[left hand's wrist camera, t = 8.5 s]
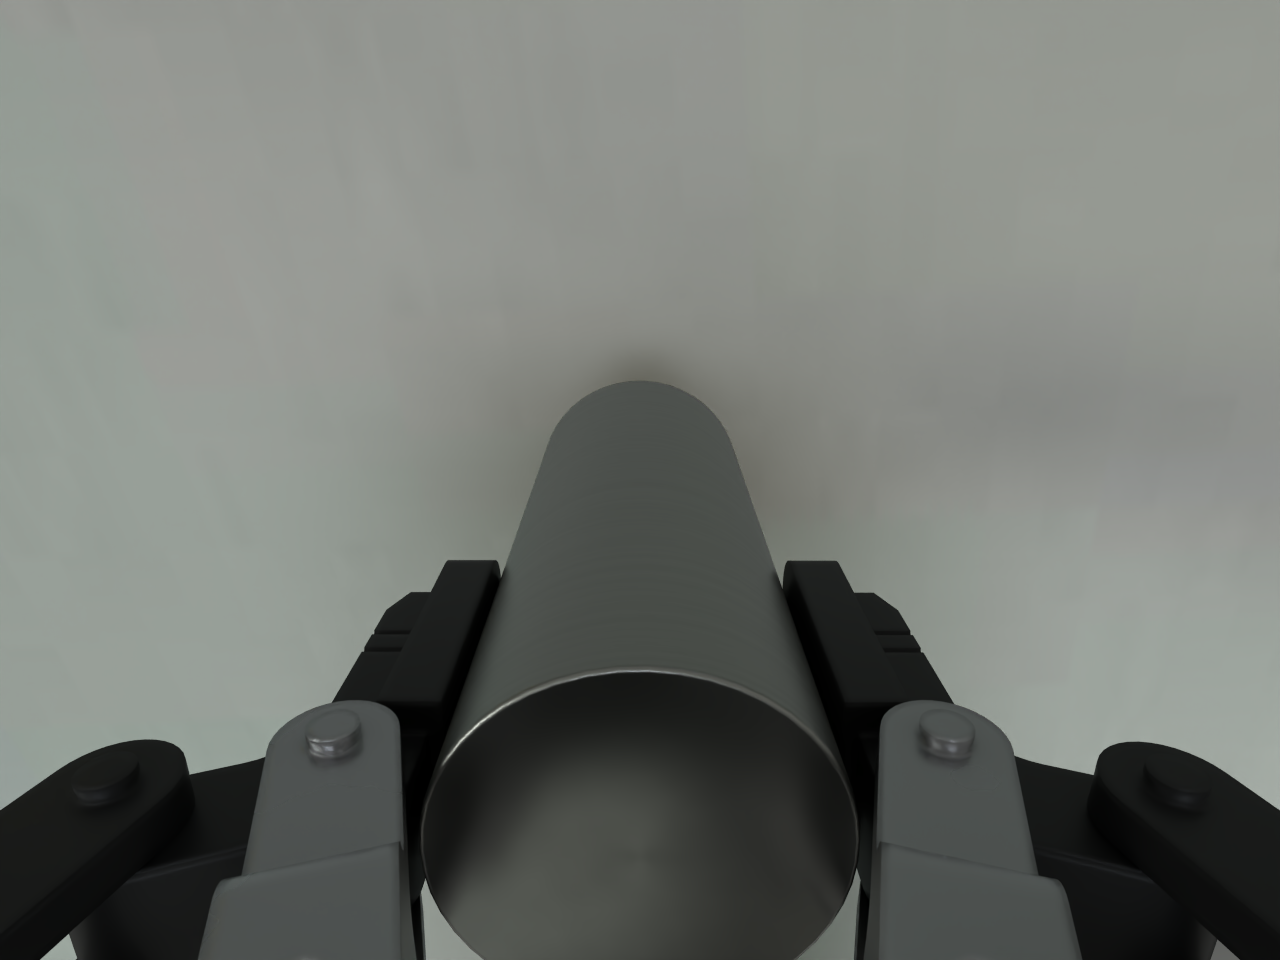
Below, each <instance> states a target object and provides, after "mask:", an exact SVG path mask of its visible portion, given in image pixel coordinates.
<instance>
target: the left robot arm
mask: <svg viewBox="0 0 1280 960" xmlns="http://www.w3.org/2000/svg"><path fill="white" fill-rule="evenodd" d="M500 580H501V576H500V568H499V564H498V562H497V561H496V560H448V561H447V562H446V563H445V565H444V567H443V569H442V571H441V573H440V575H439V577H438V579H437V581H436V583H435V585H434V587H433V589H432V591H431V592H410V593H409V594H408V595H406V596H405V597H404V598H402V599H401V600H399V601H398V602H397V603H395V604H394V605H393V606H391V607H390V608H388V609H387V610H386V612H385V613H384V615H383V617H382V618H381V620H380V622H379V623H378V625H377V627H376V629H375V630H374V634H372V635H371V637H370V639H369V640H368V642H367V644H366V645H365V647H364V652H361V654H360V656H359V657H358V659H357V661H356V662H355V664H354V666H353V668H352V669H351V671H350V673H349V674H348V676H347V678H346V679H345V681H344V683H343V685H342V686H341V688H340V690H339V691H338V693H337V695H336V696H335V698H334V700H333V702H332V703H329V704H325V705H322V706H319V707H316V708H313V709H311V710H308V711H306V712H304V713H302V714H300V715H298V716H296V717H295V718H293V719H292V720H290V721H289V722H287V723H286V724H285V725H284V726H283V727H282V728H280V729H279V730H278V732H277V733H276V734H275V735H274V736H273V738H272V739H271V741H270V743H269V745H268V748H267V752H266V757H264V758H261V759H258V760H254V761H250V762H247V763H242V764H238V765H233V766H228V767H224V768H219V769H214V770H210V771H205V772H200V773H195V774H191V775H189V771H188V766H187V762H186V758H185V756H184V753H183V752H182V751H181V749H180V748H179V747H177V746H175V745H174V744H172V743H169V742H166V741H160V740H133V741H128V742H122V743H118V744H114V745H110V746H107V747H104V748H101V749H98V750H95V751H93V752H91V753H88V754H86V755H84V756H81V757H80V758H78V759H76V760H74V761H72V762H70V763H68V764H67V765H65V766H64V767H62V768H60V769H59V770H57V771H56V772H55V773H53V774H52V775H50V776H49V777H47V778H46V779H45V780H43V781H42V782H40V783H39V784H37V785H36V786H35V787H33V788H32V789H30V790H29V791H27V792H26V793H25V794H23V795H22V796H20V797H19V798H17V799H16V800H15V801H13V802H12V803H10V804H9V805H7V806H6V807H5V808H3V809H2V810H0V960H40V959H41V958H42V957H43V956H45V955H46V954H47V953H48V952H49V951H50V950H51V949H52V948H53V947H55V946H56V945H57V944H58V943H59V942H60V941H61V940H62V939H63V938H64V937H66V936H67V935H68V934H69V935H70V938H71V941H72V944H73V947H74V950H75V953H76V956H77V959H76V960H426V952H425V934H424V916H423V905H422V897H421V890H422V887H423V884H424V881H425V875H424V872H423V867H422V861H421V855H420V849H419V821H420V816H421V810H422V805H423V800H424V797H425V794H426V791H427V788H428V785H429V783H430V780H431V777H432V774H433V771H434V768H435V765H436V763H437V760H438V757H439V754H440V751H441V748H442V745H443V743H444V740H445V737H446V734H447V731H448V728H449V725H450V723H451V720H452V717H453V714H454V711H455V708H456V705H457V703H458V700H459V697H460V694H461V691H462V688H463V685H464V683H465V680H466V677H467V674H468V671H469V668H470V665H471V663H472V660H473V657H474V654H475V651H476V648H477V645H478V643H479V640H480V637H481V634H482V631H483V628H484V625H485V623H486V620H487V617H488V614H489V611H490V608H491V605H492V603H493V600H494V597H495V594H496V591H497V588H498V585H499V583H500ZM783 592H784V595H785V598H786V601H787V604H788V606H789V609H790V612H791V615H792V618H793V621H794V624H795V626H796V629H797V632H798V635H799V638H800V641H801V644H802V646H803V649H804V652H805V655H806V658H807V661H808V664H809V666H810V669H811V672H812V675H813V678H814V681H815V684H816V686H817V689H818V692H819V695H820V698H821V701H822V704H823V706H824V709H825V712H826V715H827V718H828V721H829V724H830V726H831V729H832V732H833V735H834V738H835V741H836V744H837V746H838V749H839V752H840V755H841V758H842V761H843V764H844V766H845V769H846V772H847V775H848V778H849V781H850V783H851V786H852V789H853V792H854V796H855V800H856V804H857V808H858V812H859V822H860V834H861V838H860V849H859V859H858V864H857V870H858V873H859V876H860V880H861V881H860V889H859V897H858V905H857V916H856V934H855V952H854V960H1210V959H1211V956H1212V953H1213V950H1214V947H1215V945H1216V942H1217V939H1218V940H1219V941H1220V942H1221V943H1222V944H1223V945H1224V946H1226V947H1227V948H1228V949H1229V950H1230V951H1231V952H1232V953H1233V954H1234V955H1235V956H1237V957H1238V958H1239V959H1240V960H1280V810H1278V809H1277V808H1275V807H1274V806H1273V805H1271V804H1270V803H1268V802H1267V801H1265V800H1264V799H1263V798H1261V797H1260V796H1258V795H1257V794H1255V793H1254V792H1253V791H1251V790H1250V789H1248V788H1247V787H1245V786H1244V785H1243V784H1241V783H1240V782H1238V781H1237V780H1235V779H1234V778H1233V777H1231V776H1230V775H1228V774H1227V773H1225V772H1224V771H1222V770H1221V769H1219V768H1218V767H1216V766H1214V765H1213V764H1211V763H1209V762H1207V761H1205V760H1203V759H1201V758H1199V757H1197V756H1194V755H1192V754H1190V753H1187V752H1184V751H1181V750H1179V749H1176V748H1172V747H1168V746H1164V745H1160V744H1154V743H1147V742H1124V743H1118V744H1115V745H1112V746H1109V747H1108V748H1106V749H1105V750H1103V752H1102V753H1101V754H1100V755H1099V758H1098V761H1097V764H1096V768H1095V772H1094V775H1090V774H1086V773H1081V772H1076V771H1072V770H1067V769H1062V768H1057V767H1053V766H1048V765H1043V764H1039V763H1035V762H1032V761H1028V760H1025V759H1022V758H1019V757H1016V756H1014V752H1013V748H1012V745H1011V743H1010V741H1009V739H1008V738H1007V736H1006V735H1005V734H1004V733H1003V732H1002V730H1001V729H1000V728H998V727H997V726H996V725H995V724H994V723H993V722H991V721H990V720H988V719H987V718H985V717H984V716H982V715H980V714H978V713H976V712H974V711H972V710H969V709H967V708H964V707H961V706H958V705H955V704H954V703H953V701H952V700H951V698H950V696H949V695H948V693H947V691H946V690H945V688H944V686H943V685H942V683H941V681H940V680H939V678H938V676H937V675H936V673H935V671H934V670H933V668H932V666H931V665H930V663H929V661H928V660H927V658H926V656H925V655H924V653H921V648H920V646H919V645H918V643H917V641H916V640H915V638H914V636H913V635H911V634H910V630H909V628H908V626H907V625H906V623H905V621H904V620H903V618H902V616H901V614H900V613H899V611H898V610H897V609H895V608H894V607H893V606H891V605H890V604H888V603H887V602H886V601H884V600H883V599H881V598H880V597H879V596H877V595H876V594H874V593H854V592H853V590H852V588H851V586H850V584H849V582H848V580H847V578H846V577H845V575H844V573H843V571H842V569H841V567H840V565H839V563H838V562H837V561H787V563H786V565H785V569H784V577H783Z"/></svg>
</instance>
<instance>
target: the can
mask: <svg viewBox="0 0 1280 960" xmlns="http://www.w3.org/2000/svg"><path fill="white" fill-rule="evenodd" d="M860 838H861V834H860V822H859V812H858V808H857V804H856V800H855V796H854V792H853V789H852V786H851V783H850V781H849V778H848V775H847V772H846V769H845V766H844V764H843V761H842V758H841V755H840V752H839V749H838V746H837V744H836V741H835V738H834V735H833V732H832V729H831V726H830V724H829V721H828V718H827V715H826V712H825V709H824V706H823V704H822V701H821V698H820V695H819V692H818V689H817V686H816V684H815V681H814V678H813V675H812V672H811V669H810V666H809V664H808V661H807V658H806V655H805V652H804V649H803V646H802V644H801V641H800V638H799V635H798V632H797V629H796V626H795V624H794V621H793V618H792V615H791V612H790V609H789V606H788V604H787V601H786V598H785V595H784V592H783V589H782V586H781V584H780V581H779V578H778V575H777V572H776V569H775V566H774V564H773V561H772V558H771V555H770V552H769V549H768V546H767V544H766V541H765V538H764V535H763V532H762V529H761V526H760V524H759V521H758V518H757V515H756V512H755V509H754V506H753V504H752V501H751V498H750V495H749V492H748V489H747V487H746V484H745V481H744V478H743V475H742V472H741V469H740V467H739V464H738V461H737V458H736V455H735V452H734V449H733V447H732V444H731V441H730V439H729V437H728V434H727V432H726V430H725V429H724V427H723V425H722V424H721V422H720V421H719V419H718V418H717V417H716V416H715V414H714V413H713V412H712V411H711V410H710V409H709V408H708V407H707V406H706V405H705V404H703V403H702V402H701V401H699V400H698V399H697V398H695V397H694V396H692V395H690V394H688V393H687V392H685V391H683V390H681V389H678V388H675V387H673V386H670V385H666V384H662V383H658V382H649V381H629V382H622V383H617V384H613V385H610V386H606V387H604V388H601V389H599V390H597V391H595V392H592V393H591V394H589V395H588V396H586V397H584V398H583V399H581V400H580V401H579V402H577V403H576V404H575V405H574V406H573V407H571V409H570V410H569V411H568V412H567V413H566V414H565V415H564V416H563V417H562V419H561V420H560V422H559V423H558V424H557V426H556V428H555V429H554V431H553V433H552V435H551V437H550V440H549V443H548V445H547V448H546V451H545V454H544V457H543V460H542V463H541V465H540V468H539V471H538V474H537V477H536V480H535V483H534V485H533V488H532V491H531V494H530V497H529V500H528V503H527V505H526V508H525V511H524V514H523V517H522V520H521V523H520V525H519V528H518V531H517V534H516V537H515V540H514V543H513V545H512V548H511V551H510V554H509V557H508V560H507V563H506V565H505V568H504V571H503V574H502V577H501V580H500V583H499V585H498V588H497V591H496V594H495V597H494V600H493V603H492V605H491V608H490V611H489V614H488V617H487V620H486V623H485V625H484V628H483V631H482V634H481V637H480V640H479V643H478V645H477V648H476V651H475V654H474V657H473V660H472V663H471V665H470V668H469V671H468V674H467V677H466V680H465V683H464V685H463V688H462V691H461V694H460V697H459V700H458V703H457V705H456V708H455V711H454V714H453V717H452V720H451V723H450V725H449V728H448V731H447V734H446V737H445V740H444V743H443V745H442V748H441V751H440V754H439V757H438V760H437V763H436V765H435V768H434V771H433V774H432V777H431V780H430V783H429V785H428V788H427V791H426V794H425V797H424V800H423V805H422V810H421V816H420V821H419V849H420V855H421V861H422V867H423V872H424V875H425V878H426V881H427V884H428V887H429V890H430V893H431V895H432V897H433V899H434V901H435V902H436V904H437V906H438V908H439V910H440V912H441V914H442V915H443V916H444V918H445V919H446V921H447V922H448V923H449V925H450V926H451V928H452V929H453V930H454V932H455V933H456V934H457V935H458V936H459V937H460V938H461V939H462V940H463V941H464V942H465V943H466V944H467V945H468V947H469V948H470V949H472V950H473V951H474V952H475V953H476V954H478V955H479V956H480V957H481V958H483V959H484V960H796V959H797V958H798V957H800V956H801V955H802V954H803V953H804V952H805V951H806V950H807V949H808V948H809V947H811V946H812V945H813V944H814V943H815V942H816V941H817V940H818V939H819V937H820V936H821V935H822V934H823V933H824V931H825V930H826V929H827V928H828V927H829V925H830V924H831V923H832V921H833V920H834V918H835V917H836V915H837V913H838V912H839V910H840V909H841V907H842V906H843V904H844V902H845V899H846V897H847V895H848V892H849V890H850V888H851V886H852V883H853V879H854V875H855V871H856V868H857V864H858V859H859V849H860Z"/></svg>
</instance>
